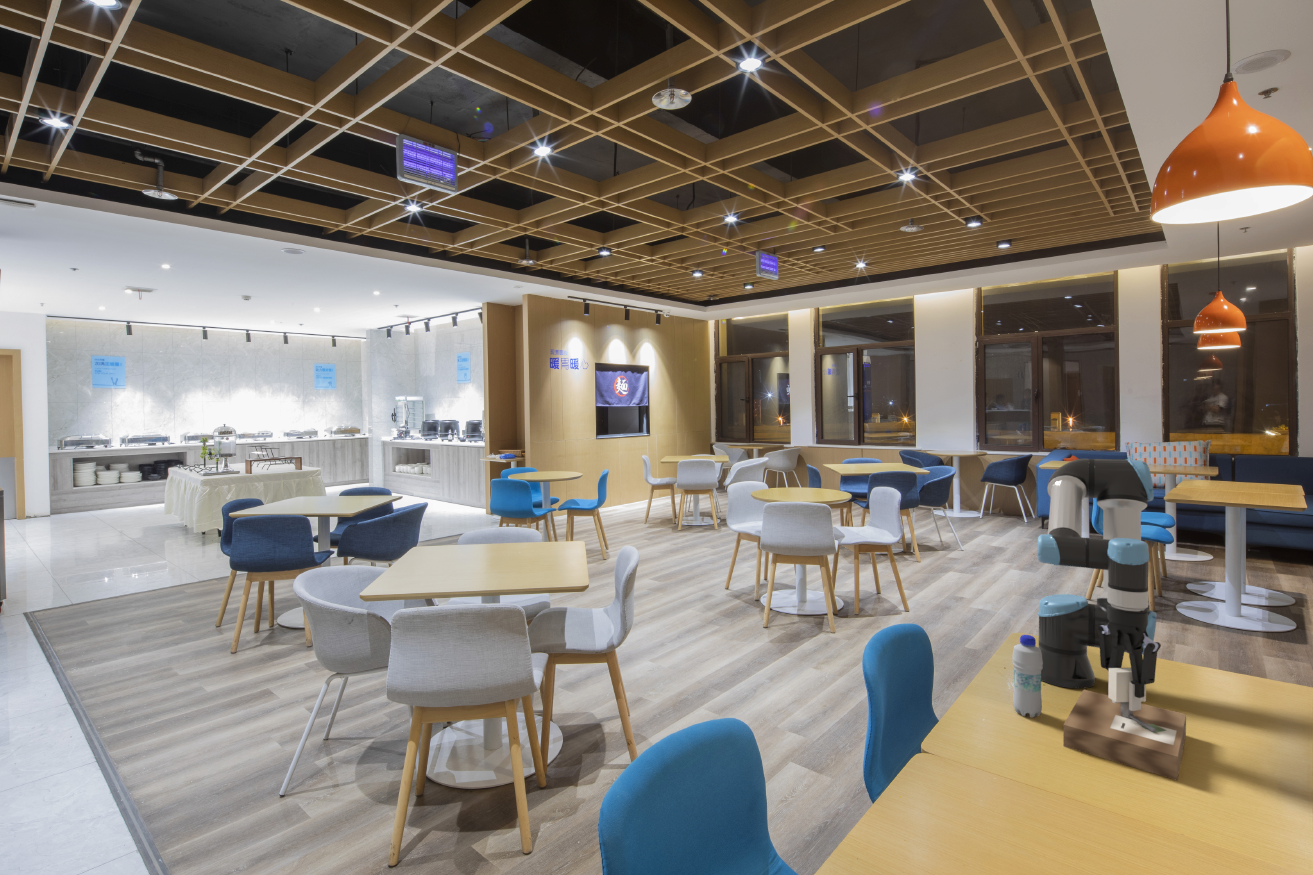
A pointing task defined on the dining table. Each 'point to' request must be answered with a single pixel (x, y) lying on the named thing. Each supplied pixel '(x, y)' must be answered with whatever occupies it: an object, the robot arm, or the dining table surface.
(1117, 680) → the white box with rod
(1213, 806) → the dining table surface
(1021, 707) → the bottle
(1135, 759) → the wooden box with sign
